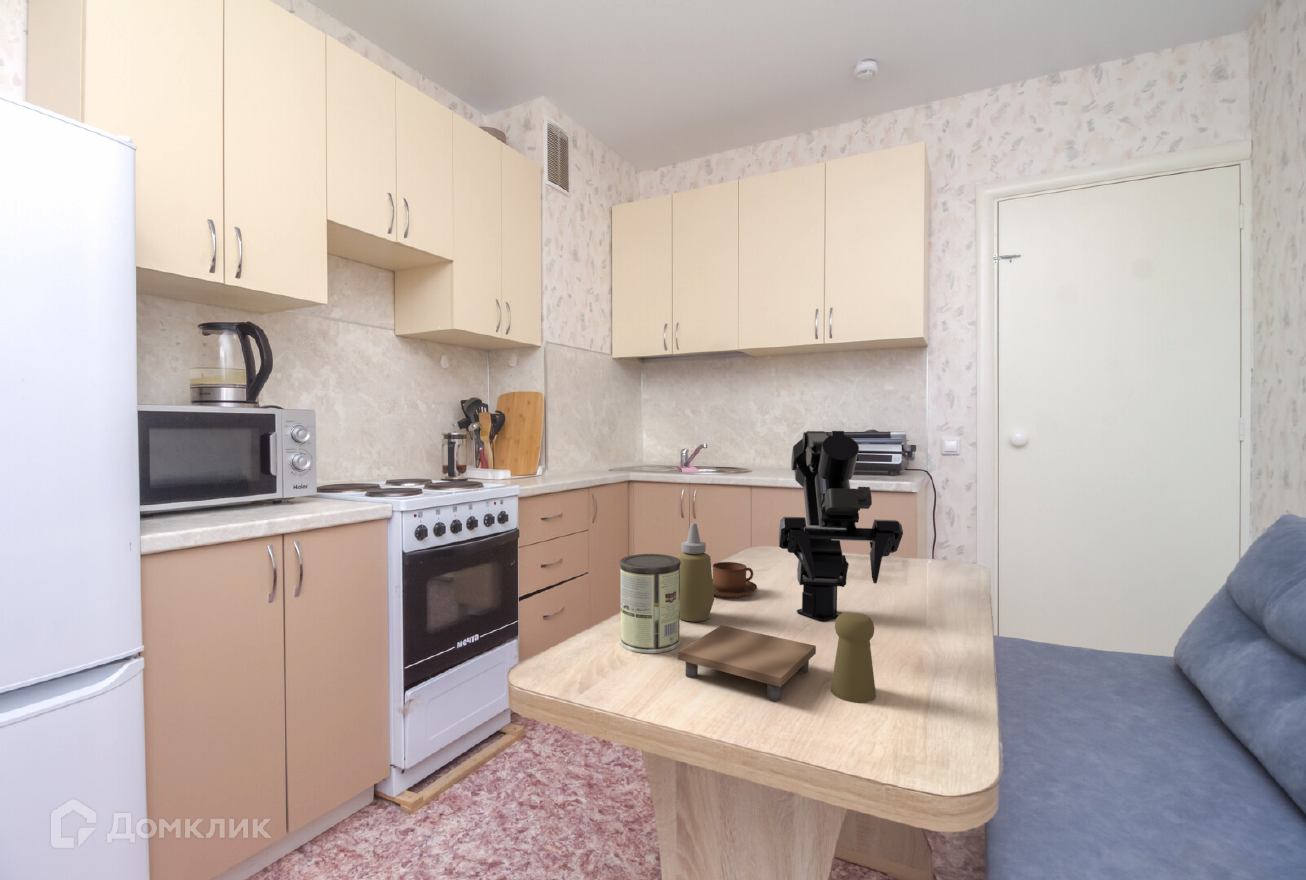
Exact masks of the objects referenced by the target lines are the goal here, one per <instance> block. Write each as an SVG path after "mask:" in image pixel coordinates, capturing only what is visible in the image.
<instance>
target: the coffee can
mask: <svg viewBox="0 0 1306 880" xmlns="http://www.w3.org/2000/svg"><path fill="white" fill-rule="evenodd" d="M680 564H681V561H680V559H678V558H677V556H676V557H675V556H672V555H668V554H660V553H641V554H640V553H639V554H633V555H632V554H631V555H628V556H625V557H623V558H621V559H620V560H619V566H620V640H619V641H620V643H619V644H620V646H622V647H623V648H624V649H626V650H628V651H631V652H635V653H640V654H661V653H665V652H670V651H673V650H674V649H676V648H677V647H678V646H679V645H680V643H681V641H680V630H681V629H680V618H679V610H680Z"/></svg>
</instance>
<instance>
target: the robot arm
mask: <svg viewBox="0 0 1306 880" xmlns="http://www.w3.org/2000/svg"><path fill="white" fill-rule="evenodd" d="M859 451H860V447H859V444H858V443H857V441H855V440H854V439H853V438H851V437H850V436H847V435H845V431H844V430H831V434H830V436H829V432H826V431H825V430H823V431H822V430H819V431H818V430H817V431H816V430H806V431H803V433H802V438H801V439H800V440H799V441H798V442H797V443H796V444H794V445H793V446H792V451H791V452H792V453H791V459H790V460H791V462H790V463H791V464H790V466H791V467H790V468H791V471H793V472H794V479H795V481H796V482H797V483H798V484H799V485H800V486H801V487H802V488H803V496H804V498H803V499H804V505H805V506H804V507H805V516H806V517H802V516H799V517H798V516H783V517H782V518H781V519H780V520H779V521H780V522H779V530H778V531H779V532H778V543H779V544H778V547H779V548H780V549H784V550H786V551H787V552H788V553H789V554H794V556H795V557H796V558H797V559H798V562H797V569H796V571H797V575H796V577H797V581H798V585H799V586H803V589H802V592H801V595H802V596H801V597H802V598H801V608H799V609H796V613H798V614H800V615H802V616H806V617H808V618H811V619H814V620H817V621H820V622H823V621H824V622H825V621H828V620H829V621H830V620H832V619H833V620H834V619H836V618H837V617H838V616H839V615H840V614H842V613H843V612H842V611H840V610H839V611H838V608H837V607H838V587H841V588H845V586H846V585H847V576H848V571H849V566H850V564H849V562H848V561H847V558H846V555H845V554H843V550H842V547H841V541H845V542H848V541H850V542H855V541H856V542H869V546H870V552H869V558H870V559H869V560H870V571H871V573H870V574H871V578H872V583H873V584H877V583H878V579H879V575H880V570H881V564H882V560H883V557H889V556H890V554H893V553H897V552H898V549H899V546H900V543H901V540H902V539H903V538H902V537H903V535H904V530H903V525H902V523H901V522H899V521H898V520H897V519H874V520H873V523H872V527H871V528H869V527H867V528H866V527H857V523H859V520H860V515H859V514H860V513H859V511H861V510H869V509H870V508H871V506H872V503H873V500H872V493H871V492H872V491H871V488H870V486H858V487H857V488H851V484H850V483H851V482H850V480H851V479H852V478H853V476H854V473H855V468H856V464H857V462H858V461H859Z"/></svg>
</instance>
